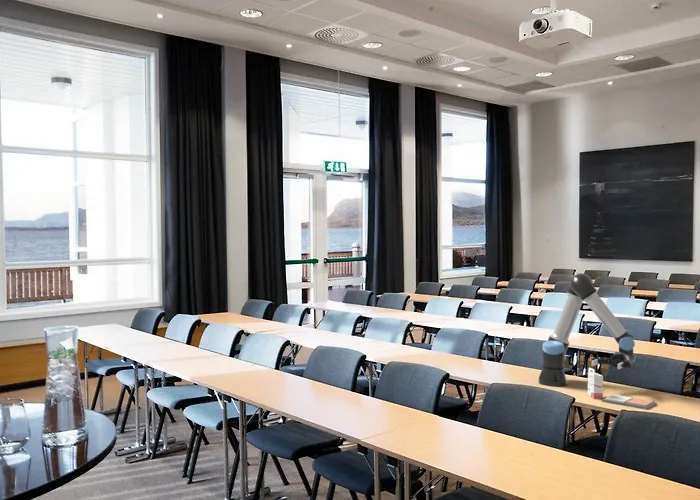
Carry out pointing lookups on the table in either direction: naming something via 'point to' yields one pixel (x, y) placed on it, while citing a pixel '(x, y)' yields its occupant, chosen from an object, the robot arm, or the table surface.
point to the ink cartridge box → (595, 384)
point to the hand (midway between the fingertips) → (605, 364)
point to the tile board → (630, 402)
